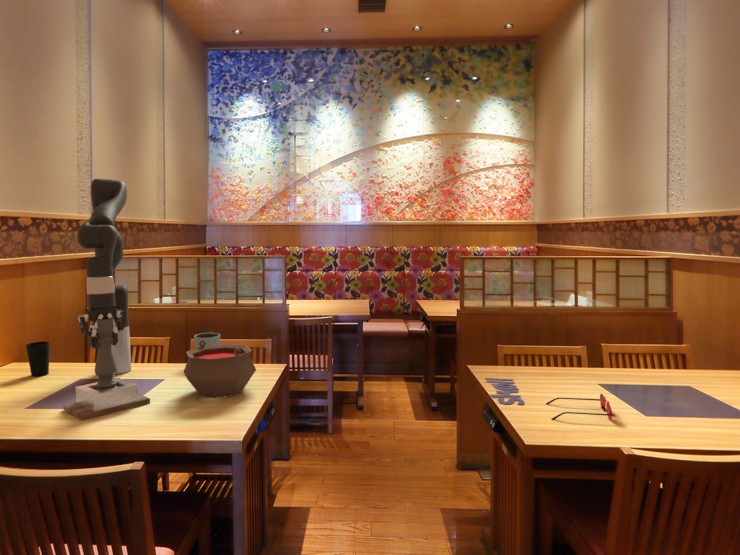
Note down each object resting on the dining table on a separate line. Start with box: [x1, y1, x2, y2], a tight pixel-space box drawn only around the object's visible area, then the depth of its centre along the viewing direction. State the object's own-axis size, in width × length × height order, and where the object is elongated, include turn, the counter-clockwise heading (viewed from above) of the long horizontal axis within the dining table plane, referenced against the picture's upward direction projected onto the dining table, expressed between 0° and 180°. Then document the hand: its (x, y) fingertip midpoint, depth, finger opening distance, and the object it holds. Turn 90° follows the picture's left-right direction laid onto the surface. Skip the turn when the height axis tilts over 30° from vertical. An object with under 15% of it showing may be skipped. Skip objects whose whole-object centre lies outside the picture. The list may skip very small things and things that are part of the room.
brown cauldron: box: [183, 339, 257, 399], centre depth 179 cm, size 24×24×16 cm
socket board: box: [62, 393, 151, 421], centre depth 165 cm, size 14×20×2 cm
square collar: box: [74, 377, 139, 412], centre depth 165 cm, size 13×13×5 cm
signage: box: [484, 377, 525, 406], centre depth 176 cm, size 28×1×10 cm
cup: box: [25, 341, 51, 378], centre depth 203 cm, size 8×8×12 cm
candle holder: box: [93, 318, 117, 391], centre depth 164 cm, size 6×6×25 cm
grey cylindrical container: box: [193, 332, 221, 349], centre depth 216 cm, size 10×10×12 cm
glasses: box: [545, 393, 616, 421], centre depth 154 cm, size 14×16×5 cm
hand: (104, 346), depth 164 cm, fingers closed on candle holder, 5 cm apart
